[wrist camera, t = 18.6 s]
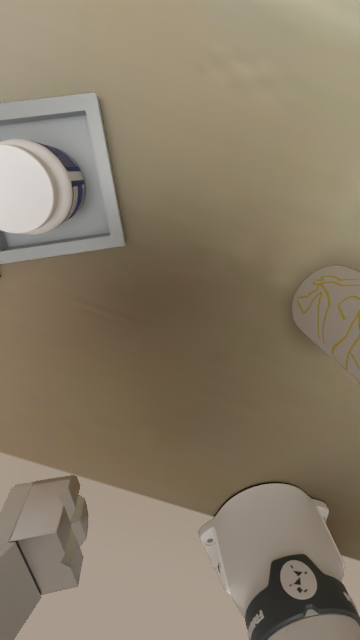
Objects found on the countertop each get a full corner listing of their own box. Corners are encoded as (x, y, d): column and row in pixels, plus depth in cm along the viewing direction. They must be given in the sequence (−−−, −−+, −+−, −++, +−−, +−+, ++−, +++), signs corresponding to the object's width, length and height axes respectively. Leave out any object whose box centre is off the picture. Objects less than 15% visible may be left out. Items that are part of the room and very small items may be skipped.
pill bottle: (0, 162, 26) (-72, 154, 17) (66, 135, 26) (30, 113, 17) (37, 231, 29) (-9, 257, 20) (98, 207, 28) (81, 222, 19)
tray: (125, 240, 30) (124, 245, 28) (3, 258, 30) (-8, 265, 27) (99, 100, 26) (95, 92, 24) (-45, 116, 25) (-63, 110, 23)
